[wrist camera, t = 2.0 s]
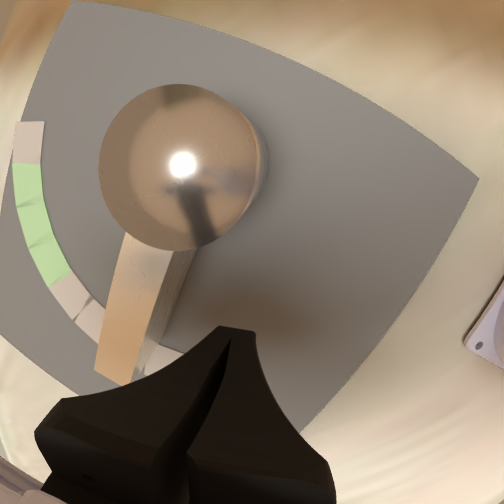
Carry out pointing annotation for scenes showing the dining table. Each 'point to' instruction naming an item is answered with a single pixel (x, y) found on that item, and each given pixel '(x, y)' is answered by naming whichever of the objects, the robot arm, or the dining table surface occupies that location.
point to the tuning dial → (169, 206)
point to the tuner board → (247, 226)
